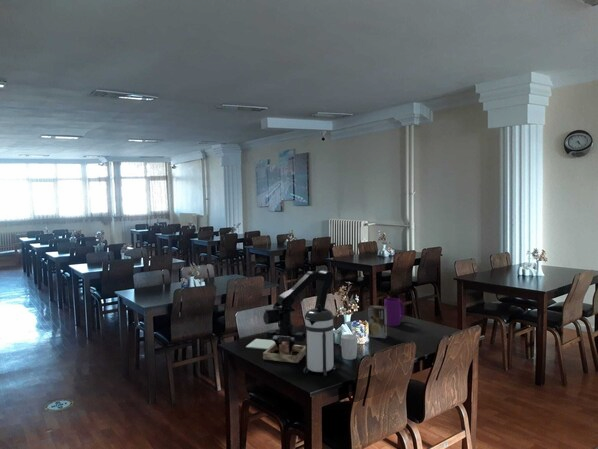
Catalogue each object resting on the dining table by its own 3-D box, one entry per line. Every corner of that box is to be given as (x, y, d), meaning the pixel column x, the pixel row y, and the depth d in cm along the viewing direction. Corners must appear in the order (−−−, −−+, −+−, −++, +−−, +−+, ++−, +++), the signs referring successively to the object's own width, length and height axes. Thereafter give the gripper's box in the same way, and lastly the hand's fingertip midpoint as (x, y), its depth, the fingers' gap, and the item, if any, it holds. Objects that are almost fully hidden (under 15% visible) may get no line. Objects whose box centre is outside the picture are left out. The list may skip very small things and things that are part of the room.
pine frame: (307, 351, 233) (307, 346, 233) (297, 362, 218) (297, 356, 218) (274, 348, 238) (274, 343, 238) (262, 359, 224) (262, 353, 224)
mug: (381, 324, 278) (381, 299, 277) (396, 319, 289) (396, 295, 288) (394, 327, 271) (394, 302, 270) (409, 322, 282) (409, 297, 281)
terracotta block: (291, 354, 230) (291, 342, 230) (288, 357, 225) (288, 345, 225) (283, 353, 231) (282, 341, 231) (279, 356, 227) (279, 344, 226)
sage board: (278, 341, 249) (278, 340, 249) (269, 349, 237) (269, 348, 237) (256, 339, 253) (256, 338, 253) (246, 347, 241) (246, 346, 241)
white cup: (353, 361, 219) (353, 340, 219) (338, 358, 223) (337, 337, 223) (360, 356, 226) (360, 335, 225) (345, 353, 230) (345, 333, 229)
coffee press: (343, 375, 203) (342, 306, 201) (307, 379, 199) (306, 309, 197) (332, 361, 220) (331, 297, 217) (298, 364, 216) (297, 300, 214)
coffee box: (387, 335, 258) (387, 306, 256) (385, 338, 252) (384, 309, 250) (370, 333, 261) (370, 305, 260) (368, 337, 255) (367, 307, 254)
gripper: (308, 318, 232) (309, 349, 233) (273, 315, 238) (273, 345, 239) (301, 324, 221) (302, 356, 222) (264, 321, 227) (265, 353, 228)
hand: (285, 352), depth 228 cm, fingers closed on terracotta block, 4 cm apart
